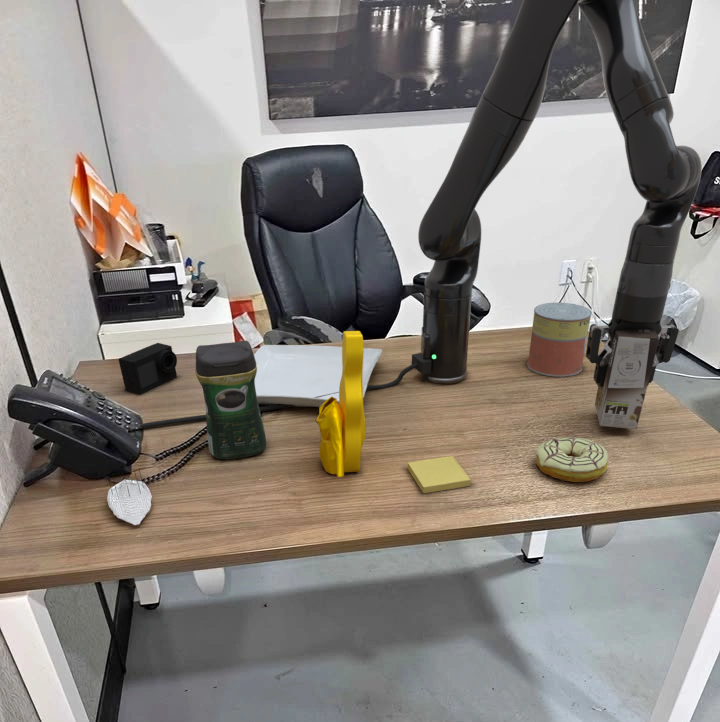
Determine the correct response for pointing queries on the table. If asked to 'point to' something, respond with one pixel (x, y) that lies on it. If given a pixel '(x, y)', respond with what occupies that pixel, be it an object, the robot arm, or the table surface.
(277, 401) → the square plate
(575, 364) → the canned food
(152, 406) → the table surface
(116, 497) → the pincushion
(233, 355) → the coffee jar
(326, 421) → the figure statuette
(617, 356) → the coffee box
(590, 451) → the decorated donut
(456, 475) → the sticky note pad
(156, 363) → the digital camera
